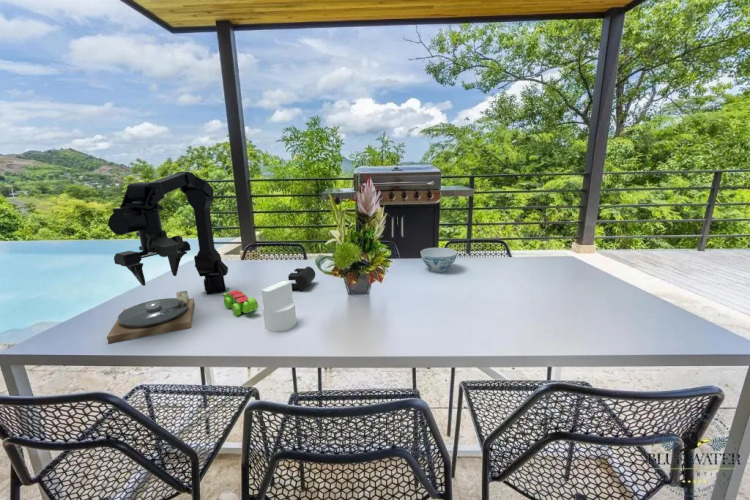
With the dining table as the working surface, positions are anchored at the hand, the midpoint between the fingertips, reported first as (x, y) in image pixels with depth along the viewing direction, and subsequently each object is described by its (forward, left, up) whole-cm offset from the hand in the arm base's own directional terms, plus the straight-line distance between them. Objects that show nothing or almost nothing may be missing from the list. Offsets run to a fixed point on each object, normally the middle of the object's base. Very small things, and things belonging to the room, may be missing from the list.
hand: (159, 280), depth 103 cm
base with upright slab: (-31, +17, -14) cm, 38 cm away
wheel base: (+3, -3, -13) cm, 14 cm away
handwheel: (+3, -3, -11) cm, 12 cm away
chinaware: (-100, -4, -14) cm, 101 cm away
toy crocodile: (-21, -1, -14) cm, 25 cm away
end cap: (-44, -11, -14) cm, 47 cm away
